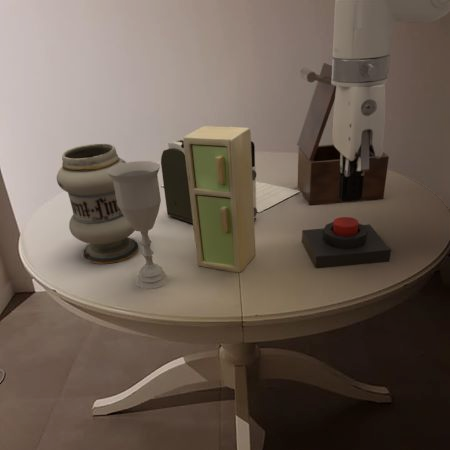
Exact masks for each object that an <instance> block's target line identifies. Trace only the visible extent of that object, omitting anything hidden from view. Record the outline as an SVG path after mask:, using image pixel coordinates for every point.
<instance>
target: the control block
mask: <svg viewBox="0 0 450 450" xmlns="http://www.w3.org/2000/svg"><path fill="white" fill-rule="evenodd" d="M301 242H302V245H303V247H304V249H305V250H306V252H307V254H308V256H309V258H310V260H311V262H312V264H313V266H314V268H315V269H324V268H335V267H347V266H357V265H358V266H359V265H367V264H368V265H369V264H378V263H388V262H390V260H391V253H392V249H391V247H390V246H388V244H387V242H385V240H384V239H382V237H381V236H380V235H379V233H378V232H377V231H376V230H375V229H374V228H373V226H372V225H371V224H369V223H367V224H361V223H359V225H358V233H357V234H355V235H348V236H344V235H338V234H335V233H333V221H332V222H329V223H327V224H325V226H324V227H323V228H314V229H313V228H312V229H302V230H301Z"/></svg>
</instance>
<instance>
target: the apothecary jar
mask: <svg viewBox="0 0 450 450" xmlns="http://www.w3.org/2000/svg"><path fill="white" fill-rule="evenodd" d="M61 159H62V164H61V165H62V166H61V167H60V168H59V170H58V171H57V174H56V182H57V185H58V186H59V187H60V189H61V190H63V191H65V192H67V194H68V198H69V202H70V205H71V210H72V215H71V217H70V220H69V223H68V227H69V232H70V233H71V235H72V236H73V237H75V238H76V240H78V241H80V242H83V243H85V244H87V245H86V246H85V247H84V248H83V251H82V257H83V258H84V259H87V260H88V262H89V263H92V264H97V265H108V264H115V263H120V262H122V261H126V260H127V259H130V258H131V257H133V256H134V255H135V254H136V253H137V252H138V250H139V243H138V241H137V240H135V239H134V238H132V237H130V236H131V235H132V234H133V233H134V232H135V230H134V229H133V227H132V226H131V225H130V224H129V222H128V221H127V220H126V218H125V217H124V216H123V214H122V212H121V210H120V209H119V207H118V205H117V200H116V195H115V189H114V184H113V179H112V178H111V177H110V176H109V174H108V173H107V170H108V169H109V168H111V167H113V166H115V165H118V164H122V163H127V161H126V160H125V159H123V158H121V157H119V155H118V153H117V149H116V147H115V146H114V144H110V143H91V144H84V145H79V146H74V147H72V148H69V149H68V150H65V151H64V152H63V153H62V155H61Z"/></svg>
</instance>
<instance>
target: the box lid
mask: <svg viewBox="0 0 450 450" xmlns="http://www.w3.org/2000/svg"><path fill="white" fill-rule="evenodd" d="M299 76H300V77H301V79H304V80H305V81H307V82H308V83H314V82H315V81H316V82H317V83H316V86H315V89H314V91H313V95H312V96H311V97H312V98H311V101H310V104H309V107H308V110H307V113H306V115H305V119H304V122H303V125H302V129H301V131H300V134H299V137H298V141H297V143H296V145H297V147H298V149H299V148H300V149H301V150H302V151H303V153H304V154H305V155H306V156H307V158H308V159H309V160H311V161H313V160H314V157H315V154H316V151H317V148H318V146H320V142H321V140H322V137H323V134H324V131H325V129H326V126H327V123H328V119H329V117H330V114H331V111H332V108H333V107H334V103H335V93H336V86H335V85H332V84H331V77H332V64H329V63H326V62H323V64H322V67H321V70H320V73H319V74H317V73H316V72H315V71H313V70H311V69H309V68H308V67H303V68H301V69H300V71H299Z"/></svg>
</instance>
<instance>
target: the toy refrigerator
mask: <svg viewBox="0 0 450 450" xmlns="http://www.w3.org/2000/svg"><path fill="white" fill-rule="evenodd" d="M182 139H183V143H184V152H185V160H186V168H187V176H188V184H189V193H190V202H191V211H192V219H193V223H192V226H193V235H194V244H195V253H196V260H197V266H199V267H204V268H209V269H215V270H221V271H226V272H231V273H238V274H239V273H241V272H243V271H244V269H245V268H246V267H247V266H248V265H249V264H250V262H251V261H252V260H253V259H254V257H255V256H256V233H255V230H256V229H255V220H254V204H253V180H252V154H251V141H252V133H251V128H250V127H243V126H216V125H215V126H214V125H213V126H212V125H203V126H201V127H199V128H198V129H195V130H193V131H191V132H190V133H187V134H186V135H185V136H183V138H182Z"/></svg>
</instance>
